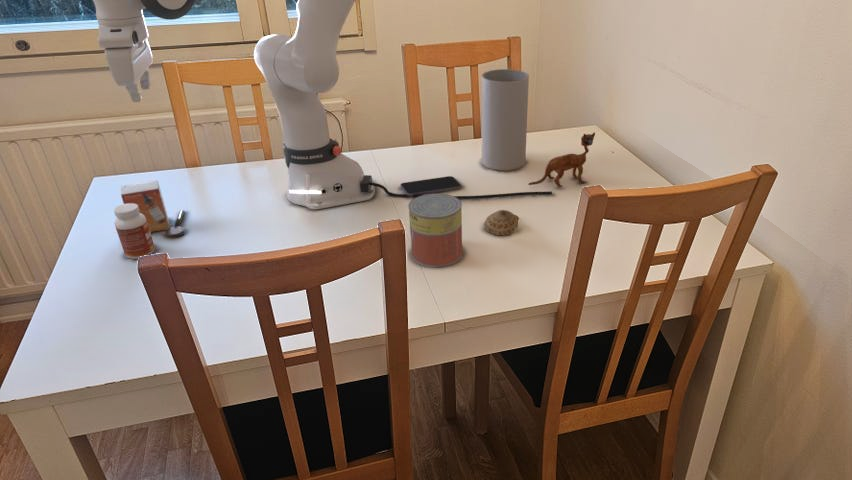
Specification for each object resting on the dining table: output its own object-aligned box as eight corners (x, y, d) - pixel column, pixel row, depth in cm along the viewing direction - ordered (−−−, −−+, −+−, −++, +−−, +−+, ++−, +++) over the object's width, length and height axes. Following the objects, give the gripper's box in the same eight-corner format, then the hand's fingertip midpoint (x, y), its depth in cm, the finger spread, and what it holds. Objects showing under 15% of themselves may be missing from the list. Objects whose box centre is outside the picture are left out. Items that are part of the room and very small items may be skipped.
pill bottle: (158, 254, 142) (144, 209, 136) (127, 262, 139) (112, 217, 133) (152, 243, 146) (139, 198, 141) (123, 250, 144) (107, 205, 138)
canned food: (414, 240, 147) (411, 193, 141) (464, 241, 147) (463, 193, 141) (408, 266, 138) (404, 216, 131) (461, 267, 137) (460, 217, 131)
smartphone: (462, 186, 170) (408, 194, 165) (462, 189, 171) (408, 198, 166) (452, 175, 176) (399, 183, 171) (452, 179, 177) (399, 187, 171)
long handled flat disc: (174, 213, 159) (173, 209, 158) (191, 211, 160) (190, 208, 159) (164, 238, 148) (163, 235, 148) (183, 237, 149) (182, 233, 148)
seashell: (524, 211, 155) (516, 213, 147) (520, 234, 156) (512, 237, 148) (491, 206, 157) (482, 208, 149) (488, 229, 158) (479, 232, 150)
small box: (133, 236, 149) (119, 194, 144) (132, 225, 153) (119, 185, 148) (170, 229, 152) (158, 188, 146) (169, 219, 156) (157, 179, 151)
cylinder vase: (526, 172, 180) (530, 82, 167) (481, 171, 180) (481, 82, 167) (524, 154, 190) (527, 69, 177) (482, 154, 191) (482, 69, 177)
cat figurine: (533, 193, 168) (535, 143, 161) (523, 183, 173) (525, 134, 166) (594, 183, 173) (599, 135, 166) (583, 174, 178) (587, 126, 171)
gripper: (120, 21, 145) (137, 82, 152) (95, 41, 128) (116, 109, 136) (150, 19, 146) (165, 81, 154) (129, 40, 129) (148, 107, 137)
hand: (142, 94), depth 144 cm, fingers open, 8 cm apart
